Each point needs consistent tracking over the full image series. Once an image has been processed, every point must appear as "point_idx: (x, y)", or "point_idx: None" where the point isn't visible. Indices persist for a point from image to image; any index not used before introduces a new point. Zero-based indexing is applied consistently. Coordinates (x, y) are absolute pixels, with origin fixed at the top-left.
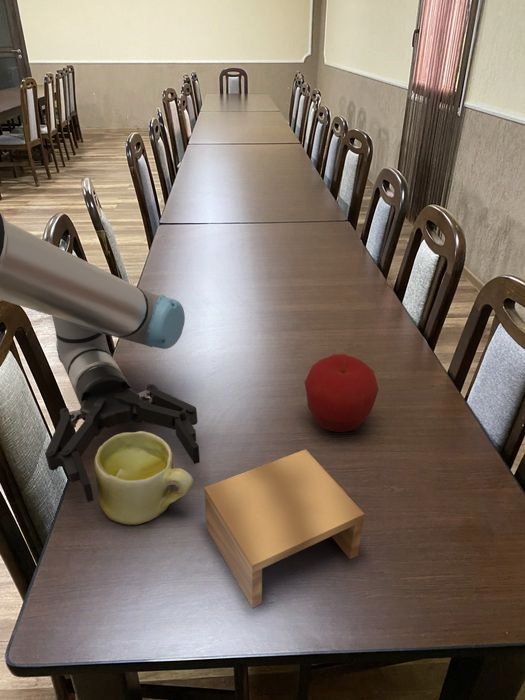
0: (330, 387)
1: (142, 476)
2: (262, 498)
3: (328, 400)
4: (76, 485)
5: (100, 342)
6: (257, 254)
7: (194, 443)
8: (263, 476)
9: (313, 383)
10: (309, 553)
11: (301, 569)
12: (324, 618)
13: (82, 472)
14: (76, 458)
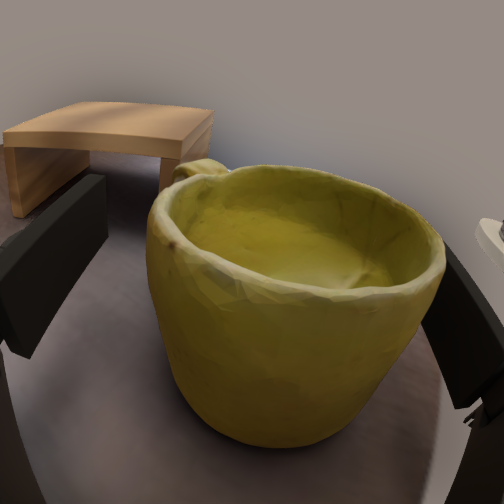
0: None
1: (275, 249)
2: (130, 117)
3: None
4: (412, 492)
5: None
6: None
7: (85, 181)
8: (90, 125)
9: None
10: (107, 179)
11: (130, 176)
12: (159, 158)
13: (459, 269)
14: (495, 321)
